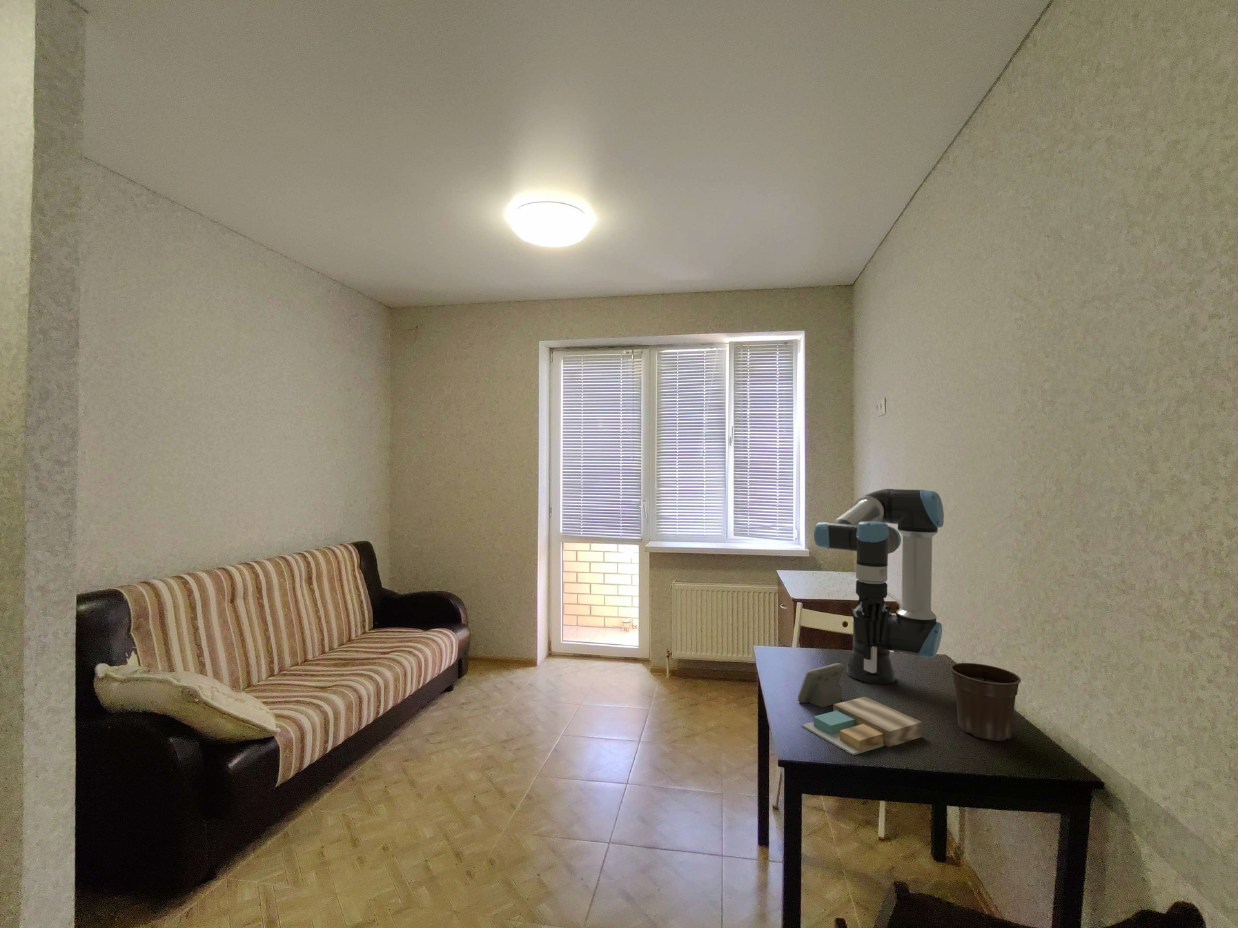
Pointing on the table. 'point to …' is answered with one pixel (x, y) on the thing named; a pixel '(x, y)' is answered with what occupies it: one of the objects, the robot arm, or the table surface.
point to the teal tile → (833, 722)
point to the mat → (836, 740)
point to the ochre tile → (861, 737)
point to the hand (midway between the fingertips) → (870, 670)
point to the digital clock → (822, 686)
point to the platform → (882, 720)
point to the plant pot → (985, 700)
